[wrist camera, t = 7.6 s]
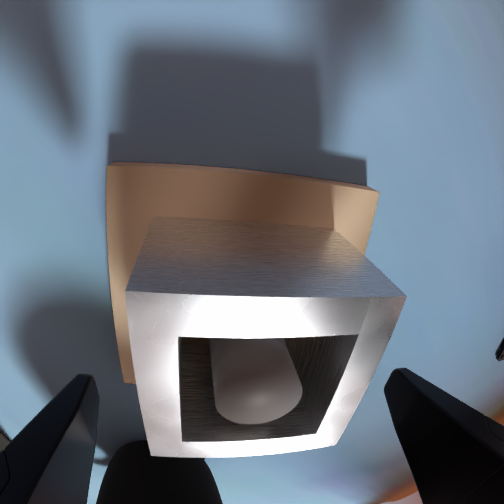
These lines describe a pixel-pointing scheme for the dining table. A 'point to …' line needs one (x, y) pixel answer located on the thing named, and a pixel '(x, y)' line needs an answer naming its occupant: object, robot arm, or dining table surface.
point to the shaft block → (237, 209)
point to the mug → (156, 479)
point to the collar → (253, 329)
